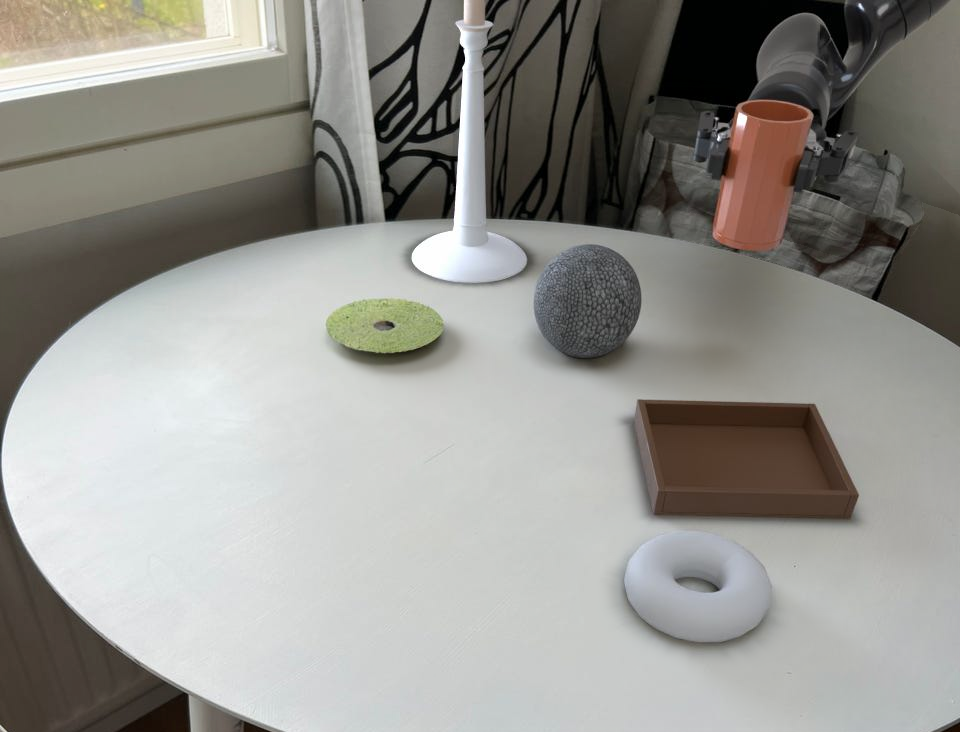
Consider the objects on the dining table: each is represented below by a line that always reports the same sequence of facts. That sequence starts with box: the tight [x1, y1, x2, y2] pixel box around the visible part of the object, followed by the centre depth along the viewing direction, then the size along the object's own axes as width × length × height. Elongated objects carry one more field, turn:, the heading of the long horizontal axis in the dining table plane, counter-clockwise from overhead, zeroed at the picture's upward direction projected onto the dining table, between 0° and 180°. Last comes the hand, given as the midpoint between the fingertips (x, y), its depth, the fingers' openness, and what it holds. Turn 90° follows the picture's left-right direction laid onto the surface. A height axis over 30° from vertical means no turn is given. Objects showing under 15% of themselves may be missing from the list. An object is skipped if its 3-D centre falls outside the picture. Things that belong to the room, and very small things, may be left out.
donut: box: [623, 530, 773, 643], centre depth 65 cm, size 10×4×10 cm
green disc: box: [325, 297, 444, 354], centre depth 91 cm, size 11×11×2 cm
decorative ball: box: [533, 243, 642, 359], centre depth 88 cm, size 10×10×10 cm
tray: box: [633, 398, 860, 520], centre depth 77 cm, size 15×13×3 cm
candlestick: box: [411, 0, 528, 284], centre depth 95 cm, size 13×13×30 cm
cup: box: [711, 100, 813, 252], centre depth 79 cm, size 6×6×10 cm
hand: (759, 173), depth 77 cm, fingers closed on cup, 6 cm apart
